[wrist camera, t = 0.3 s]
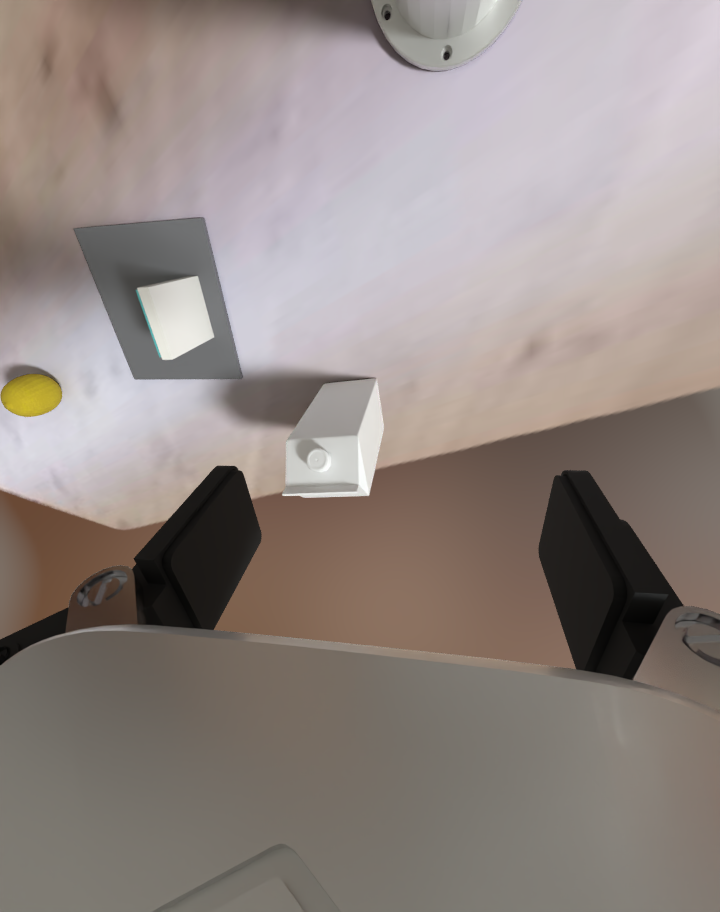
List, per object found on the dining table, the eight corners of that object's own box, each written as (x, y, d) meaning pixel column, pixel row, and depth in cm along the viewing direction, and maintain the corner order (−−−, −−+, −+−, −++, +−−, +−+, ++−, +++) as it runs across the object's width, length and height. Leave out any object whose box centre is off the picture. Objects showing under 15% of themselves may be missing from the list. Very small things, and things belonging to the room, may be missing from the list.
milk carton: (384, 427, 50) (363, 522, 34) (334, 430, 51) (291, 523, 36) (377, 377, 46) (349, 458, 30) (323, 382, 48) (270, 462, 32)
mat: (77, 228, 42) (73, 228, 42) (204, 217, 40) (201, 217, 39) (137, 377, 52) (134, 379, 51) (242, 377, 49) (240, 379, 49)
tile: (185, 276, 43) (133, 288, 35) (197, 275, 42) (147, 287, 35) (202, 337, 46) (158, 359, 39) (214, 337, 46) (172, 359, 39)
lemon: (50, 359, 53) (-5, 379, 46) (82, 391, 55) (34, 414, 48) (32, 378, 55) (-23, 399, 48) (64, 407, 57) (15, 432, 50)
